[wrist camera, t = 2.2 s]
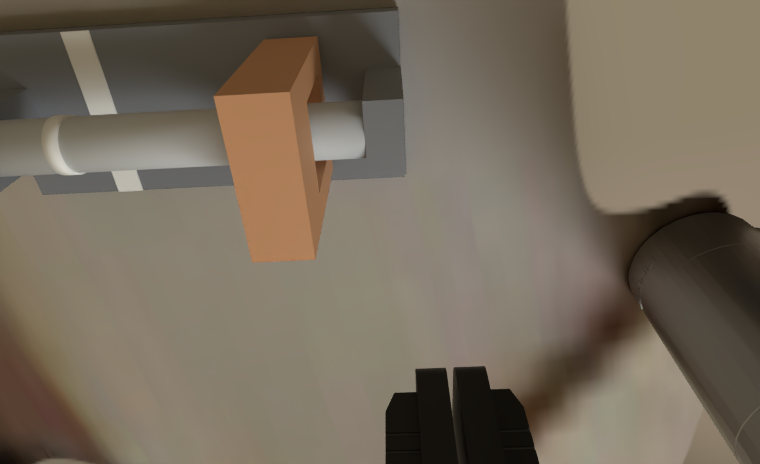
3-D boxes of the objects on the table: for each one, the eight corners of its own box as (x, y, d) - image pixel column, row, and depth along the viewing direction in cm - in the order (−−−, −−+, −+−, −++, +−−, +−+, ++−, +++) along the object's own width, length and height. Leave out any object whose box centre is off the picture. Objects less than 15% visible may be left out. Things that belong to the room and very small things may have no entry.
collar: (317, 36, 29) (289, 91, 20) (333, 168, 33) (315, 259, 24) (263, 39, 29) (213, 96, 20) (286, 170, 33) (252, 262, 25)
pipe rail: (397, 6, 29) (401, 33, 23) (404, 168, 35) (408, 224, 29) (-16, 33, 30) (-116, 65, 24) (52, 186, 35) (-16, 244, 29)
